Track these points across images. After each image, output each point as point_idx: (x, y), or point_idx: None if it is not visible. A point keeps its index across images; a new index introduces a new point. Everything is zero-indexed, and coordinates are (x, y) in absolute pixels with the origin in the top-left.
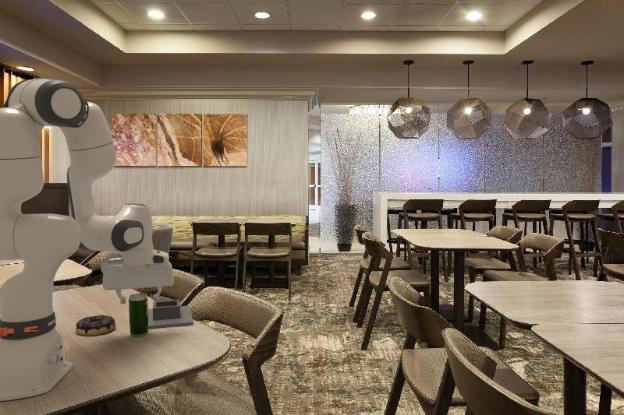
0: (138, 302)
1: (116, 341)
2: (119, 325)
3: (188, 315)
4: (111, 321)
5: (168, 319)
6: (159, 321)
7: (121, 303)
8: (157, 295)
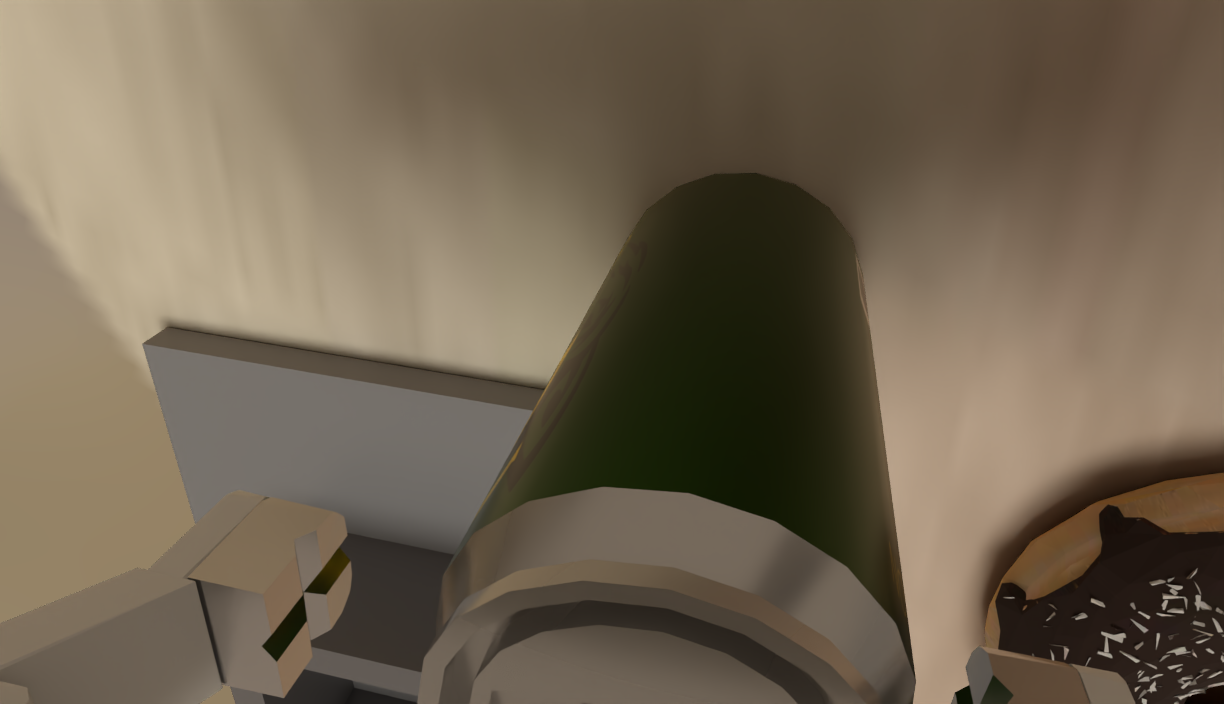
0: (667, 456)
1: (1091, 94)
2: (918, 655)
3: None
4: (1075, 626)
5: (409, 533)
6: None
7: (1093, 668)
8: (167, 574)
